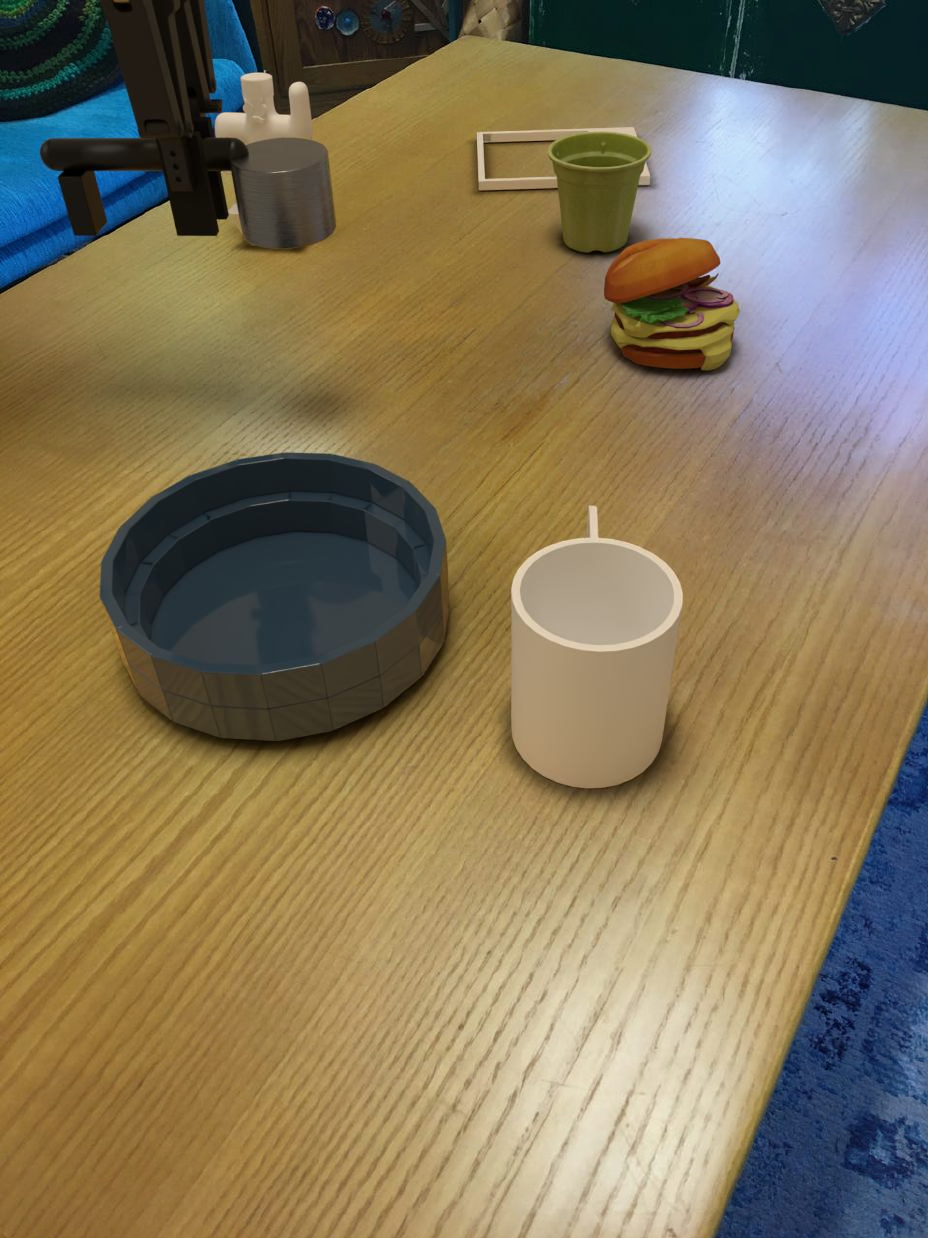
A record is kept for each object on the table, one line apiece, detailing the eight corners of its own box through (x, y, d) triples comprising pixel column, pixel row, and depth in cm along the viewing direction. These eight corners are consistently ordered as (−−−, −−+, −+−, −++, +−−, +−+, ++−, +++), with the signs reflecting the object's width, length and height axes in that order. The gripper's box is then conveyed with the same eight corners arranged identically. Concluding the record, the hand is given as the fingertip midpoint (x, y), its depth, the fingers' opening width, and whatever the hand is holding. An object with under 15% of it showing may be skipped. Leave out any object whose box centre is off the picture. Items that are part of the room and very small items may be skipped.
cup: (652, 629, 63) (670, 493, 57) (667, 791, 55) (690, 653, 48) (515, 626, 64) (515, 491, 57) (508, 786, 55) (508, 649, 48)
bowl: (78, 740, 59) (46, 663, 54) (180, 521, 72) (160, 447, 68) (428, 759, 57) (421, 683, 53) (463, 531, 71) (460, 457, 67)
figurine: (248, 219, 109) (220, 60, 99) (336, 224, 107) (317, 63, 97) (221, 249, 104) (189, 85, 93) (313, 256, 102) (291, 89, 92)
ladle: (343, 211, 75) (333, 120, 70) (327, 249, 70) (315, 155, 66) (79, 210, 76) (54, 122, 72) (46, 248, 71) (17, 156, 67)
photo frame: (650, 173, 111) (478, 179, 111) (649, 184, 112) (478, 190, 112) (633, 124, 122) (476, 130, 122) (633, 135, 122) (476, 140, 123)
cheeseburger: (680, 395, 82) (668, 265, 76) (584, 373, 90) (567, 254, 84) (765, 348, 86) (759, 223, 81) (667, 331, 94) (655, 216, 89)
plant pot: (525, 242, 103) (526, 150, 97) (589, 212, 107) (593, 122, 102) (599, 271, 98) (605, 176, 92) (663, 239, 102) (672, 146, 97)
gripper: (140, -192, 51) (230, 275, 67) (219, -227, 62) (280, 182, 78) (-10, -187, 52) (115, 274, 68) (94, -223, 62) (180, 182, 79)
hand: (203, 224), depth 73 cm, fingers closed on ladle, 2 cm apart
